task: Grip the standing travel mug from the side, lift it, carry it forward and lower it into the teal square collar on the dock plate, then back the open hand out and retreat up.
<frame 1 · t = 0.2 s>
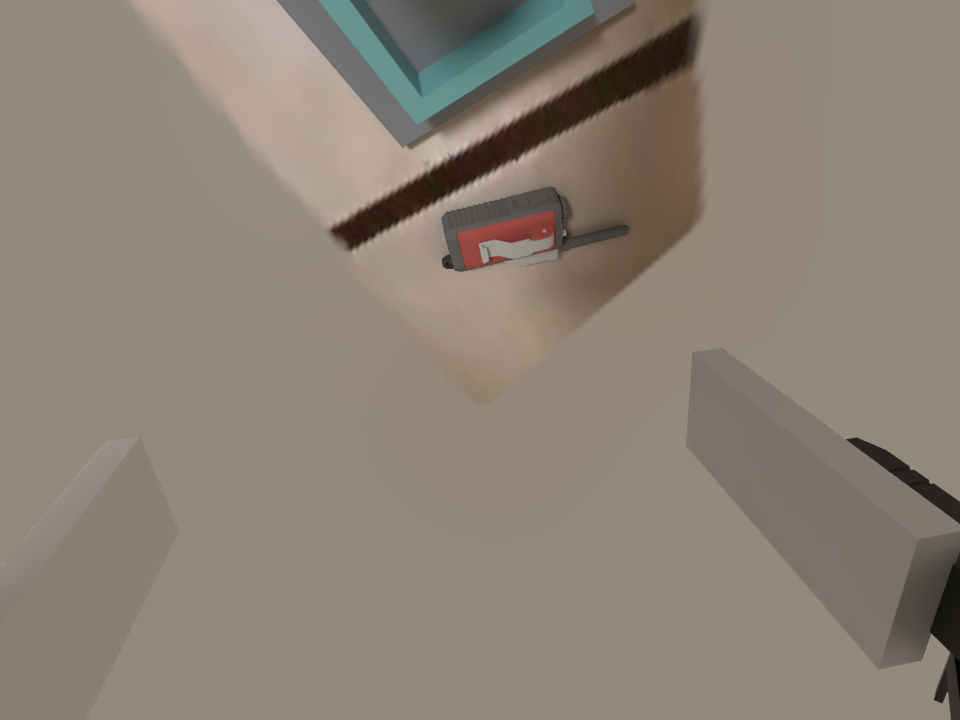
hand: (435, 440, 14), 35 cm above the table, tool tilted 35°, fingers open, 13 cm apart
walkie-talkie: (531, 218, 58), on the table
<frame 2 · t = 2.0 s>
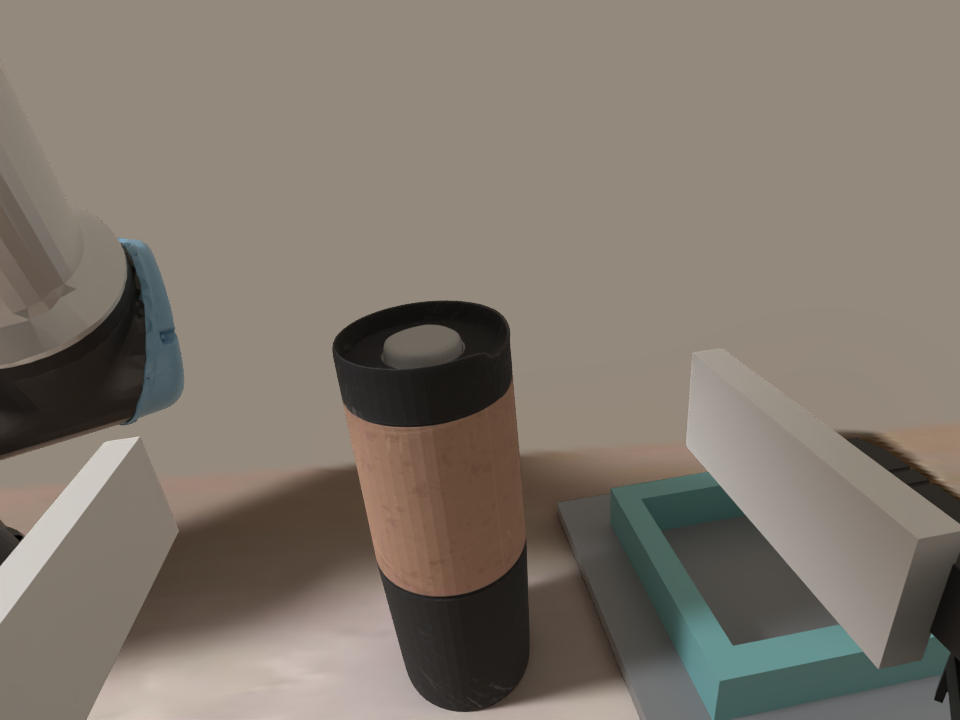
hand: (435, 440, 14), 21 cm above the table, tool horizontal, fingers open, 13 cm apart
travel mug: (468, 653, 33), on the table
mug dock: (762, 594, 34), on the table
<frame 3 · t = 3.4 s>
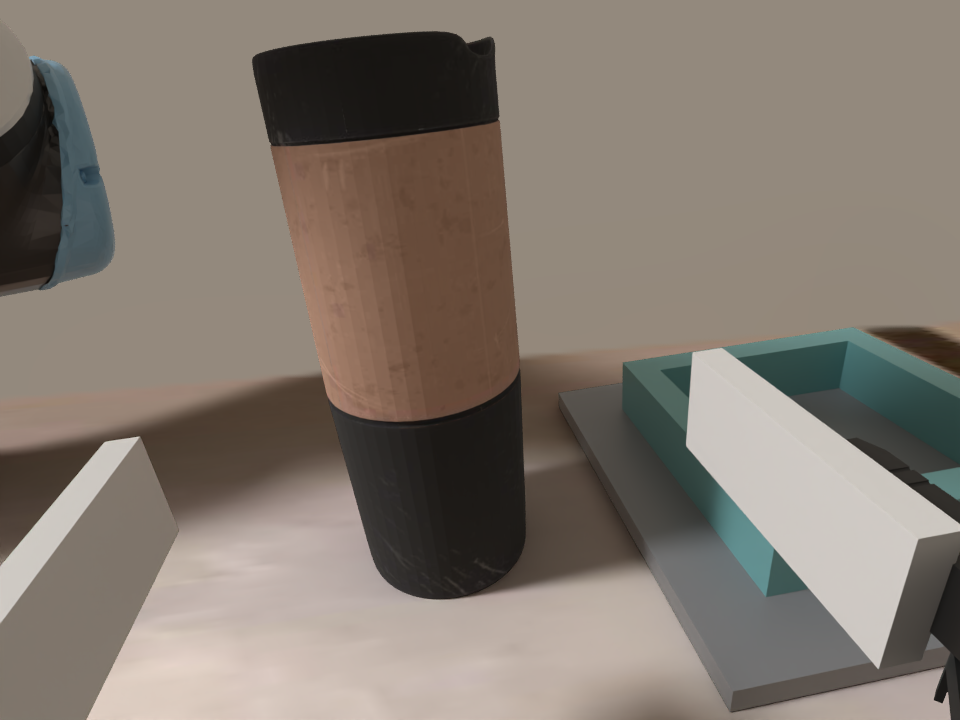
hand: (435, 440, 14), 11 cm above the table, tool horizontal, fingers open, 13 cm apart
travel mug: (449, 541, 26), on the table
mug dock: (811, 473, 28), on the table
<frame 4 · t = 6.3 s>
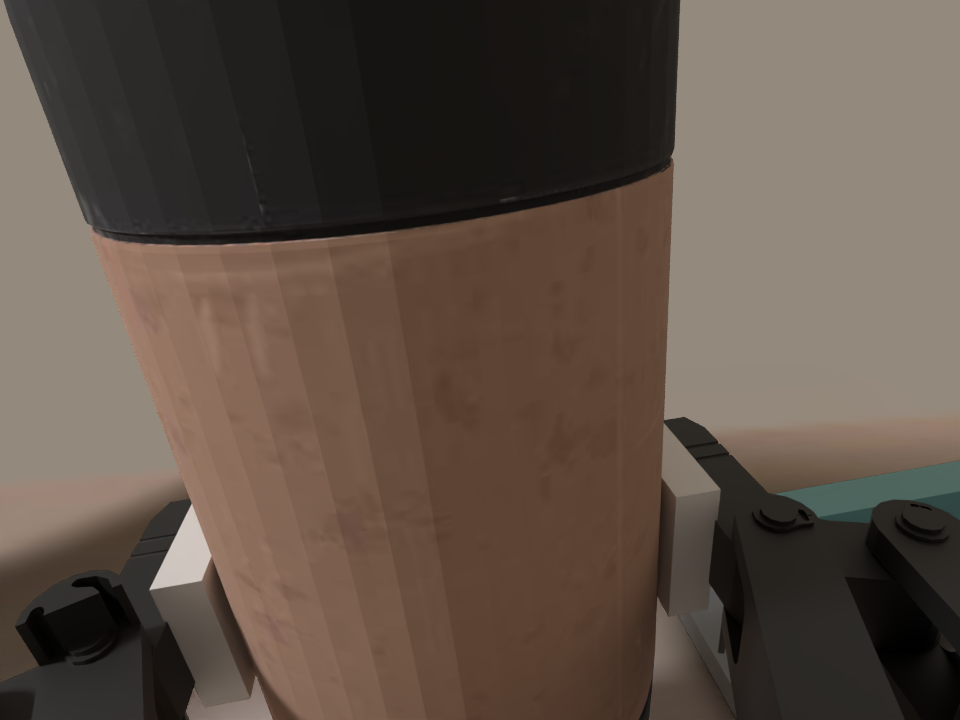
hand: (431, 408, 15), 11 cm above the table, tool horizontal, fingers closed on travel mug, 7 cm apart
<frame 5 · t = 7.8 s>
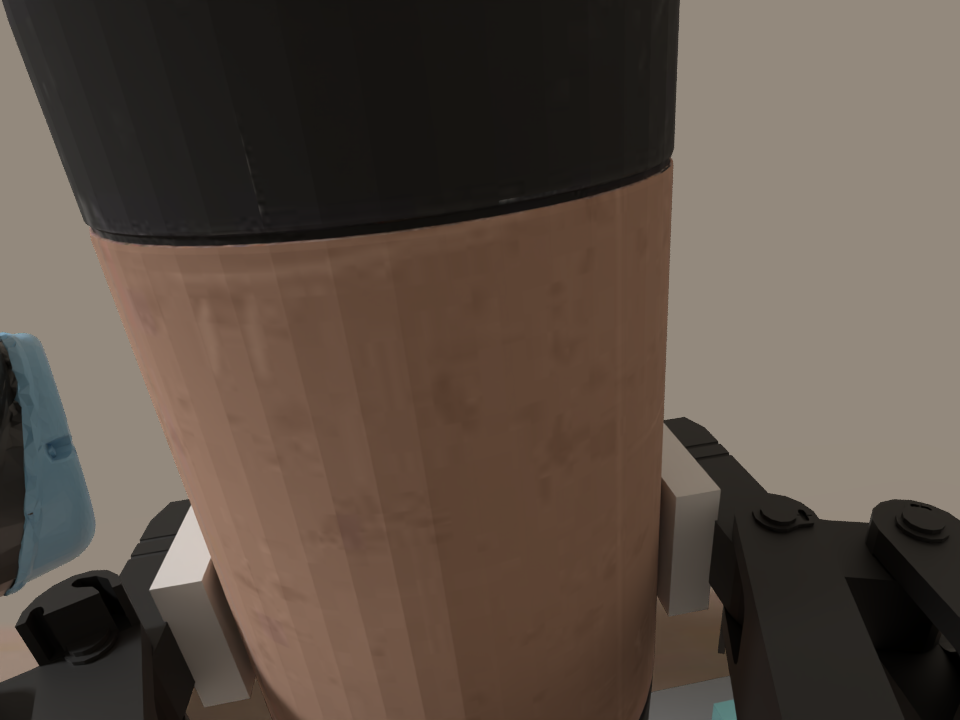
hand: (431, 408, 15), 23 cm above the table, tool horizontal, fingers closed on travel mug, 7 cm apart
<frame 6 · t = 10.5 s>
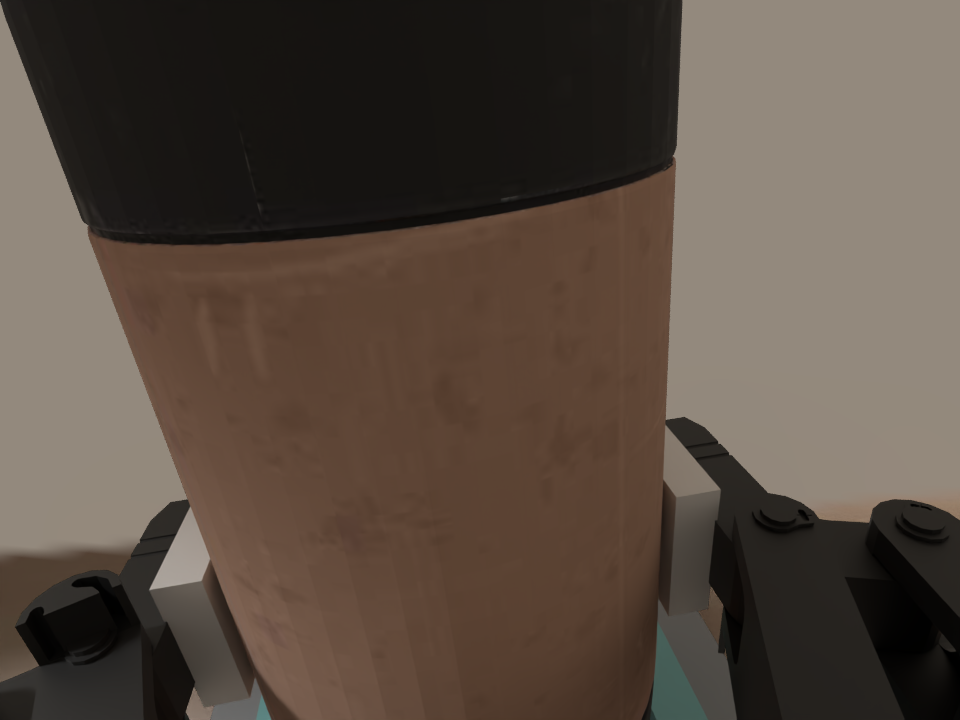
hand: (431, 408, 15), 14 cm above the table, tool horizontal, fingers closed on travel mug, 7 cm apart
when the fingers open (13 cm above the table, at t = 11.2 s): travel mug stays where it is, resting on mug dock.
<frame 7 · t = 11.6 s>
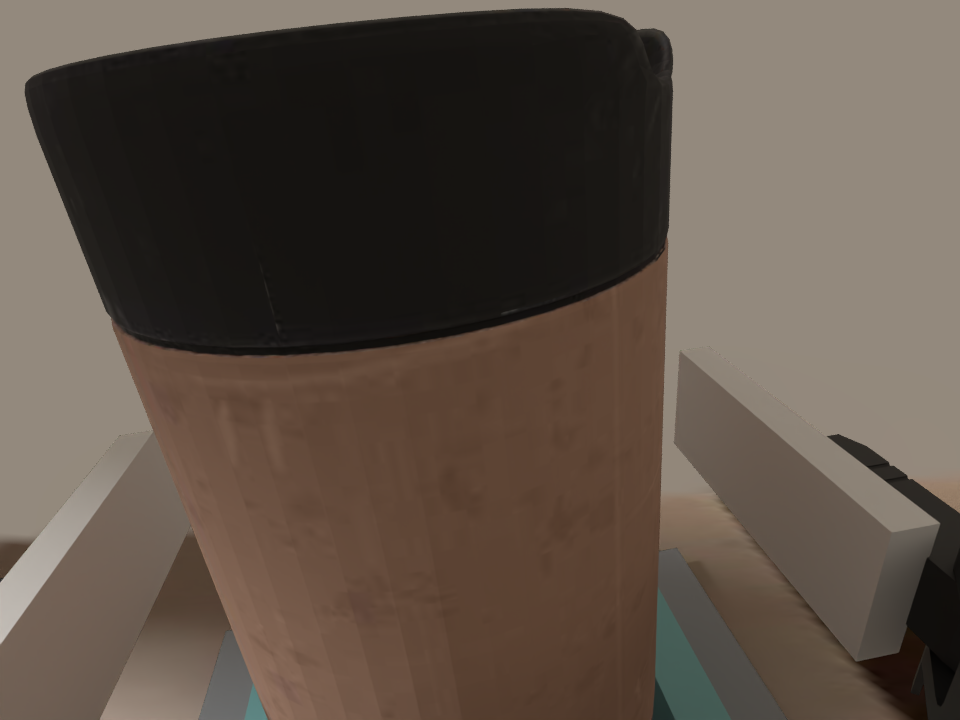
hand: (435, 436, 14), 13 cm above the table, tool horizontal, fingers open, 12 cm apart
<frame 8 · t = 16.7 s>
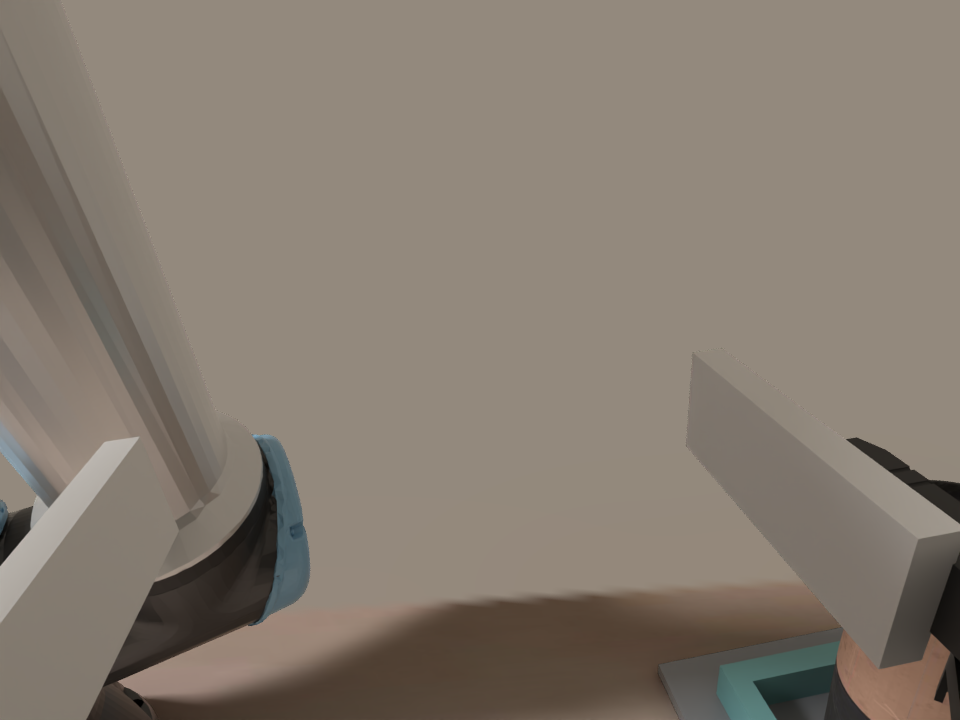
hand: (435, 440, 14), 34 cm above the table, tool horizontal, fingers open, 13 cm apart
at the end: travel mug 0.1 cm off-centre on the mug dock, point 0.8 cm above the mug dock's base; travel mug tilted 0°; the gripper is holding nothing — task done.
